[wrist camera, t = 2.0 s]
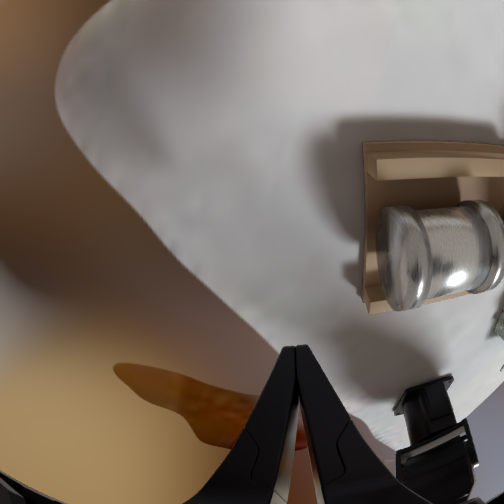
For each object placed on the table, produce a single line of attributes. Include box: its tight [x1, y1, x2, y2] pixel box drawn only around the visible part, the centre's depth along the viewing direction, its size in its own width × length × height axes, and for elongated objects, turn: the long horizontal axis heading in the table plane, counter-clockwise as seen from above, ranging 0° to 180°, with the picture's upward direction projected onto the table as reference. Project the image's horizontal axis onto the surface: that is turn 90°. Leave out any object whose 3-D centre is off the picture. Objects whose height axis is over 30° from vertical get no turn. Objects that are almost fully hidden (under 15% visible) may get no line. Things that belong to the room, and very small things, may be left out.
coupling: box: [376, 199, 504, 311], centre depth 12 cm, size 5×6×5 cm
